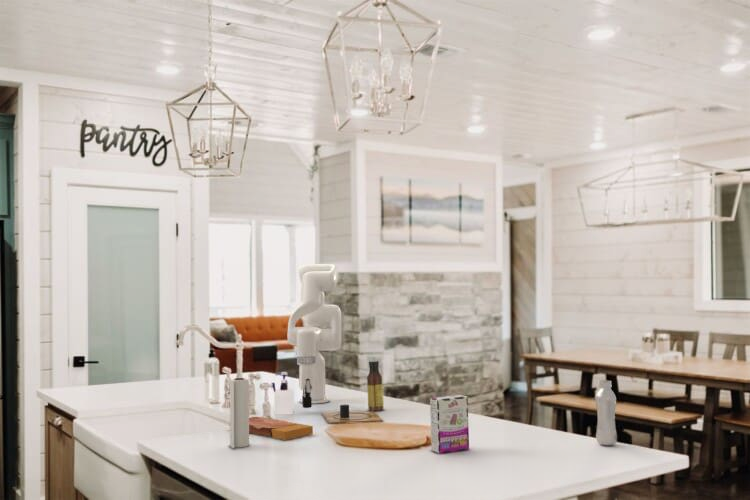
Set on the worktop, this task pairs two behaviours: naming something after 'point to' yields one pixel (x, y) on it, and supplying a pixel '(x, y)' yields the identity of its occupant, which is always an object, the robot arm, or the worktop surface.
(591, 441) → the worktop surface
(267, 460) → the worktop surface
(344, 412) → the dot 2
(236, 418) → the tall grey block
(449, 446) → the candy bar box
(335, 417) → the board
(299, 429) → the brown flat block
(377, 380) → the sauce bottle
